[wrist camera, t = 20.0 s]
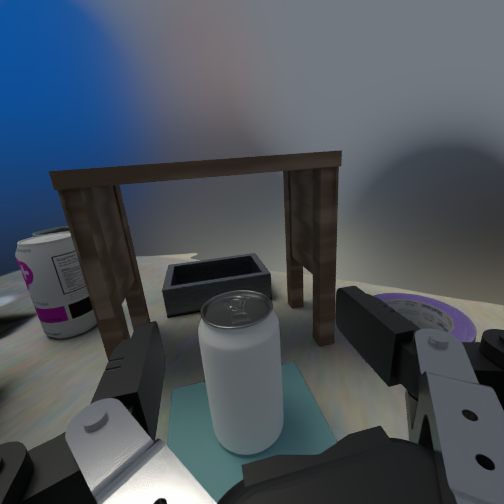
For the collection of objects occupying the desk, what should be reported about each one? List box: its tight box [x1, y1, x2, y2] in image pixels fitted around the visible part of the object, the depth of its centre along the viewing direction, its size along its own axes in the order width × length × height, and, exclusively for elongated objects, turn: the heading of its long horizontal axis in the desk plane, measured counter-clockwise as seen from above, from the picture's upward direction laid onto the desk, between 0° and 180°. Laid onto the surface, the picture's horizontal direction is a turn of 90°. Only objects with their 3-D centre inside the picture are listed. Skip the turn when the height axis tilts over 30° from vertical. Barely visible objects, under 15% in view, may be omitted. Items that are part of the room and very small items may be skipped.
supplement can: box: [15, 232, 97, 339], centre depth 41 cm, size 8×8×15 cm
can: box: [198, 290, 284, 455], centre depth 22 cm, size 6×6×12 cm
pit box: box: [162, 253, 272, 318], centre depth 50 cm, size 12×18×5 cm, turn 102°
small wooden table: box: [49, 151, 342, 361], centre depth 34 cm, size 13×26×24 cm, turn 102°
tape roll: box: [359, 293, 477, 362], centre depth 31 cm, size 12×12×5 cm
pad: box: [167, 362, 337, 503], centre depth 24 cm, size 12×14×1 cm
